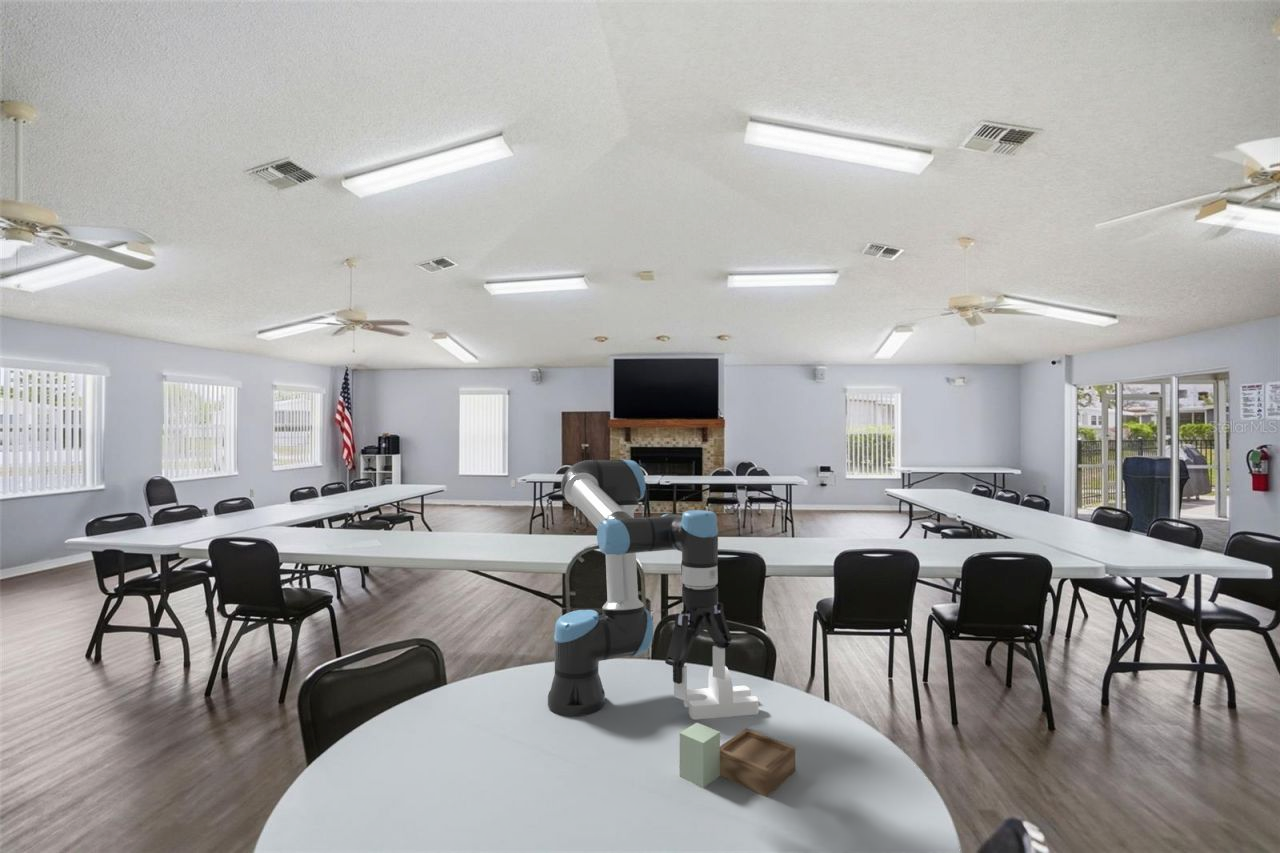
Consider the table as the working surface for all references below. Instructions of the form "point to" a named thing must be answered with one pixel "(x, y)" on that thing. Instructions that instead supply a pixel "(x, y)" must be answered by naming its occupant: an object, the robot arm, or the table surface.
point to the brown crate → (757, 761)
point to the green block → (700, 754)
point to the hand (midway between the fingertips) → (700, 687)
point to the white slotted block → (721, 699)
